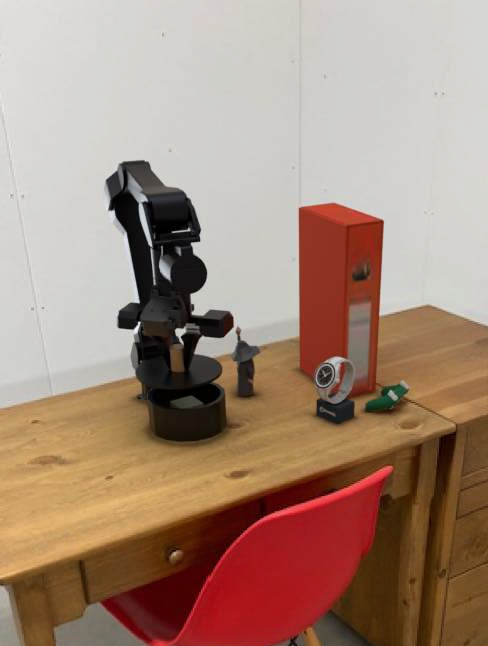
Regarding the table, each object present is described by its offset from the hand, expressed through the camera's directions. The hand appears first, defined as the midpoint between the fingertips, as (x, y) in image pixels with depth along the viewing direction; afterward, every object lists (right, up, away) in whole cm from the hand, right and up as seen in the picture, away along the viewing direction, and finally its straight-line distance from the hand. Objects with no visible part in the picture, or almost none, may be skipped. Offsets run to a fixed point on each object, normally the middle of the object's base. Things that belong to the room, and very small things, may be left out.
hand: (178, 369), depth 135 cm
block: (+1, -8, +8) cm, 11 cm away
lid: (0, 0, 0) cm, 0 cm away
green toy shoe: (+38, -4, +15) cm, 41 cm away
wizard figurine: (+10, 0, +21) cm, 23 cm away
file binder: (+29, +3, +26) cm, 38 cm away
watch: (+27, -6, +11) cm, 30 cm away
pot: (+1, -9, +8) cm, 12 cm away
